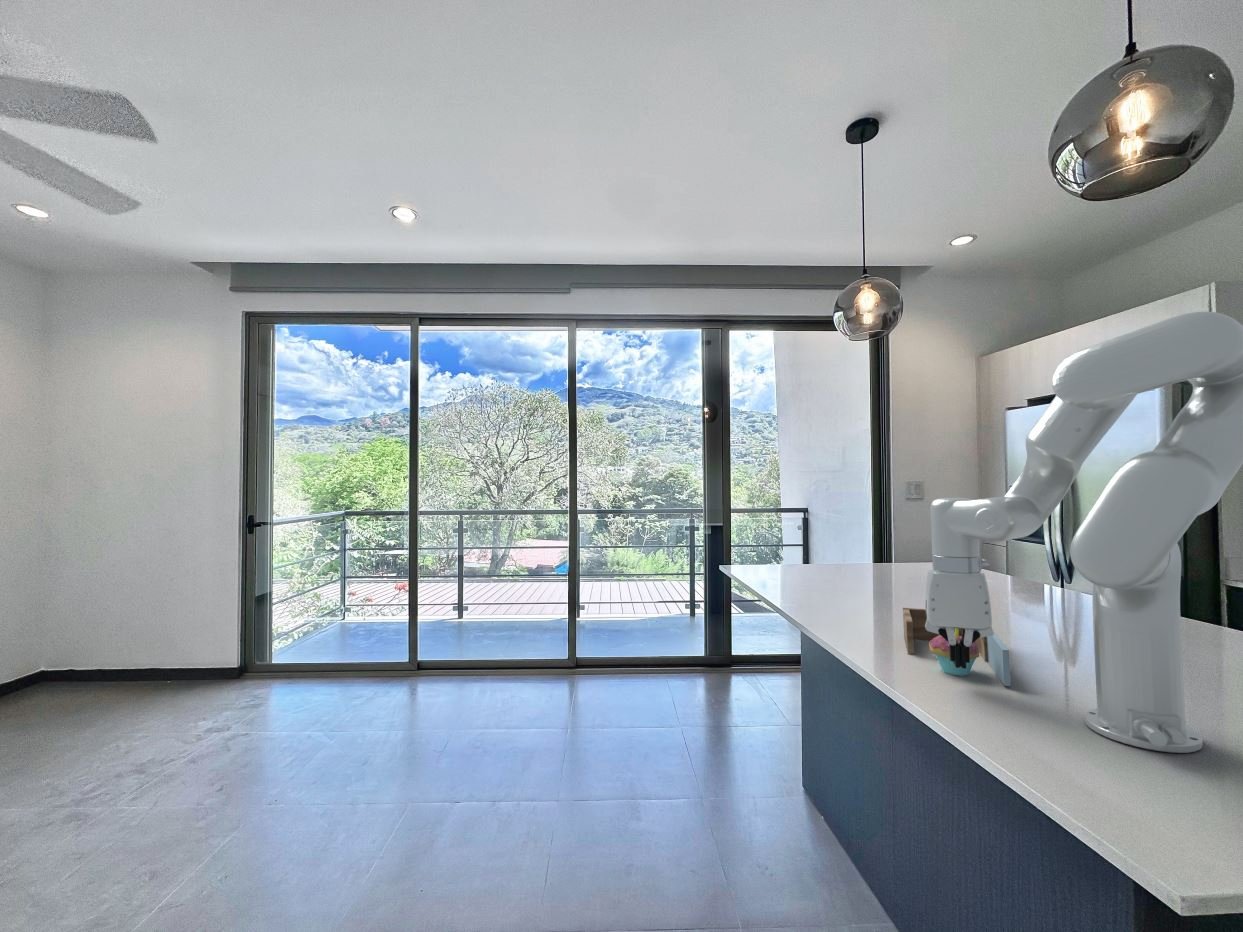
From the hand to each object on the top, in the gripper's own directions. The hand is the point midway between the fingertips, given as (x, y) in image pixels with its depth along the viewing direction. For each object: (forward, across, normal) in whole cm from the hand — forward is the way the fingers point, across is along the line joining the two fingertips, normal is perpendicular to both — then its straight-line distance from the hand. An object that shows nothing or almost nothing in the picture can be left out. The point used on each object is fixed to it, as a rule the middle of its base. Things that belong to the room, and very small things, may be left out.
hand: (959, 665), depth 101 cm
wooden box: (+4, 0, -24) cm, 25 cm away
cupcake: (+4, 0, -8) cm, 9 cm away
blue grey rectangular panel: (+3, -8, -9) cm, 12 cm away
